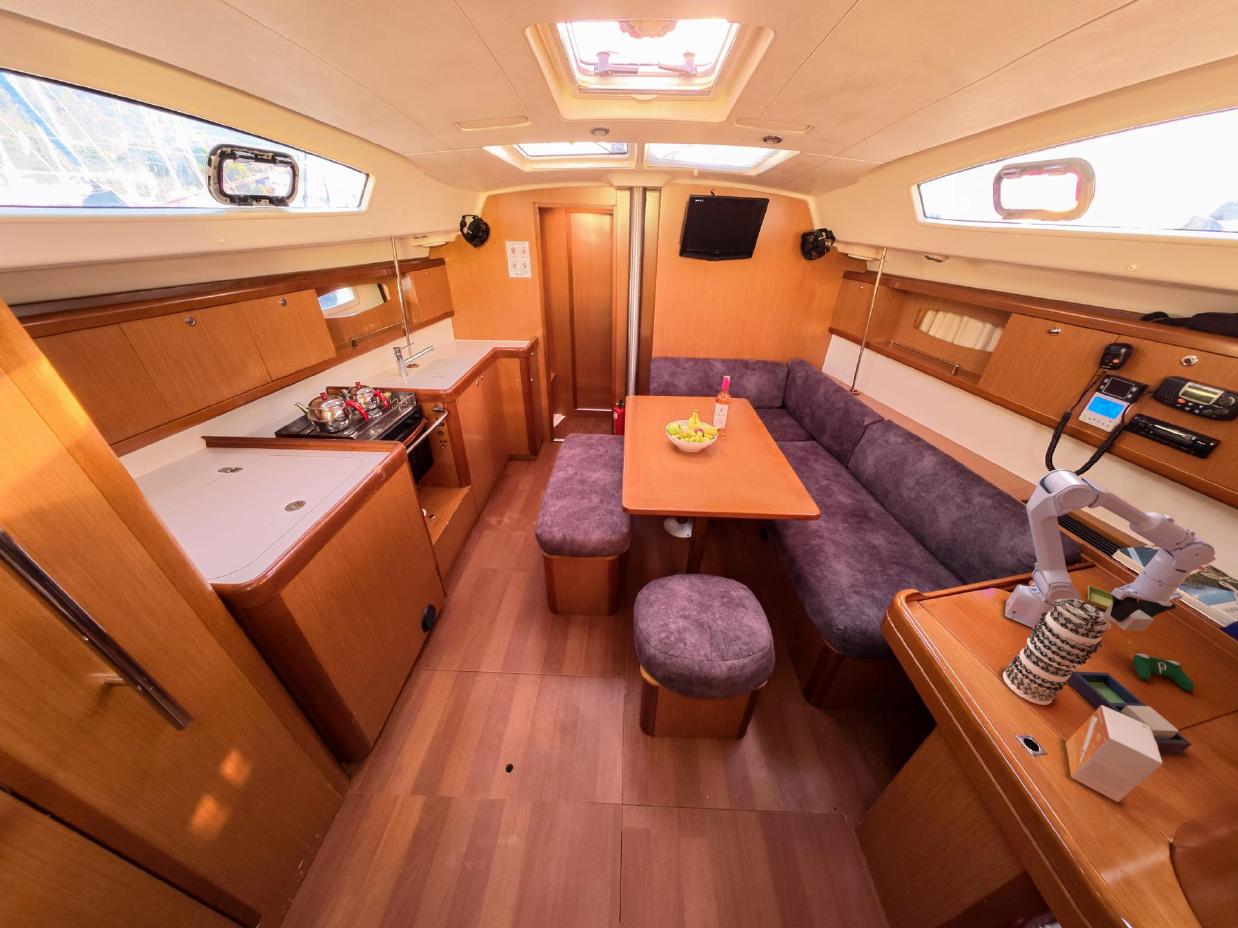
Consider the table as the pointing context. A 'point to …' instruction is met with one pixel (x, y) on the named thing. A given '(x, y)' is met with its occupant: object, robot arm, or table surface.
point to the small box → (1112, 753)
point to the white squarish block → (1132, 620)
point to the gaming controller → (1161, 670)
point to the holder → (1118, 701)
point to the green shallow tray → (1099, 597)
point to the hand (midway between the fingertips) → (1126, 618)
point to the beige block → (1151, 721)
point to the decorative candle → (1056, 650)
